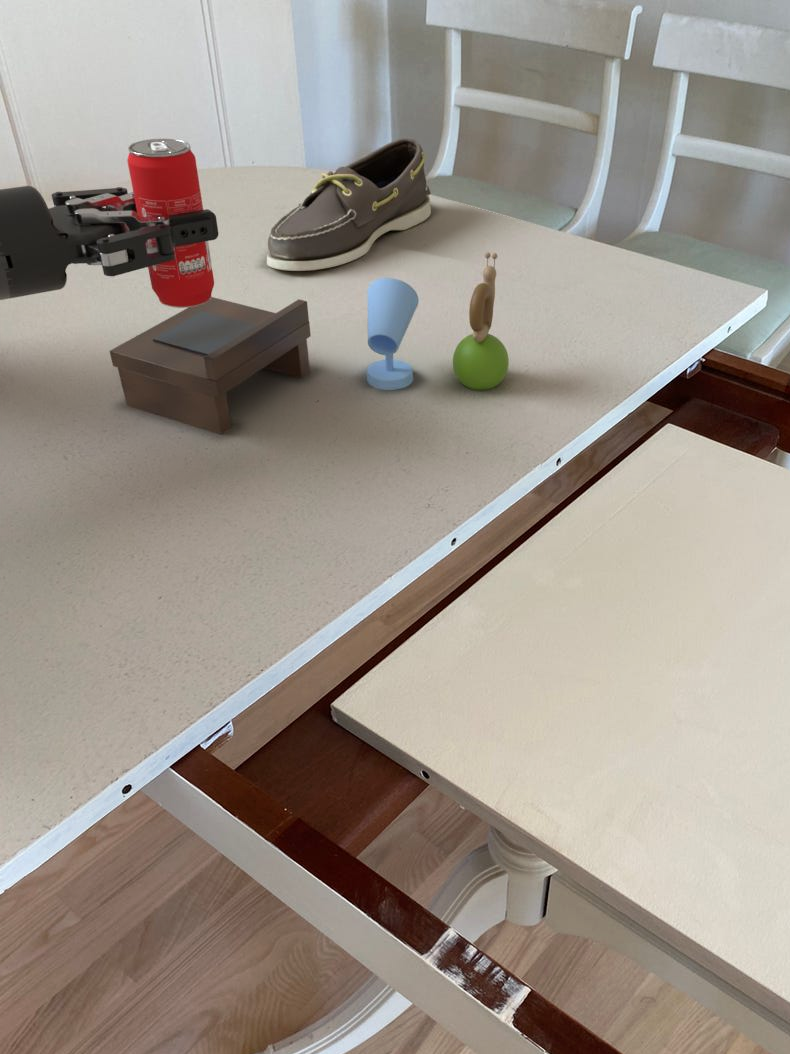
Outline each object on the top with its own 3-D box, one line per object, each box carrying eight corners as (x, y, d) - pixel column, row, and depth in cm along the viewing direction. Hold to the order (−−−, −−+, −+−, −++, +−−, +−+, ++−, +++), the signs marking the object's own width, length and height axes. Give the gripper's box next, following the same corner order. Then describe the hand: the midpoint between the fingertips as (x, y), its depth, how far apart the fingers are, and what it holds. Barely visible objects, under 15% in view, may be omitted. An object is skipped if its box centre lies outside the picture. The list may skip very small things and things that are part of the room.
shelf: (124, 410, 91) (103, 329, 86) (218, 352, 101) (205, 276, 95) (227, 443, 87) (212, 359, 82) (315, 379, 97) (307, 300, 91)
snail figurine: (514, 374, 98) (520, 254, 90) (501, 403, 94) (506, 280, 86) (462, 367, 99) (463, 248, 91) (446, 396, 95) (446, 274, 87)
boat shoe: (239, 269, 117) (228, 189, 111) (386, 200, 137) (383, 129, 131) (311, 289, 113) (303, 208, 107) (452, 215, 133) (452, 143, 127)
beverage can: (160, 313, 81) (130, 158, 73) (149, 290, 85) (120, 140, 77) (222, 304, 83) (199, 152, 75) (209, 283, 86) (186, 135, 79)
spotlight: (374, 365, 99) (359, 397, 94) (368, 267, 92) (352, 296, 87) (421, 369, 99) (409, 401, 94) (419, 271, 92) (406, 300, 87)
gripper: (-19, 266, 80) (180, 233, 88) (24, 330, 71) (242, 287, 79) (-49, 169, 75) (165, 143, 83) (-6, 224, 66) (229, 189, 74)
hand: (201, 213), depth 81 cm, fingers closed on beverage can, 5 cm apart
